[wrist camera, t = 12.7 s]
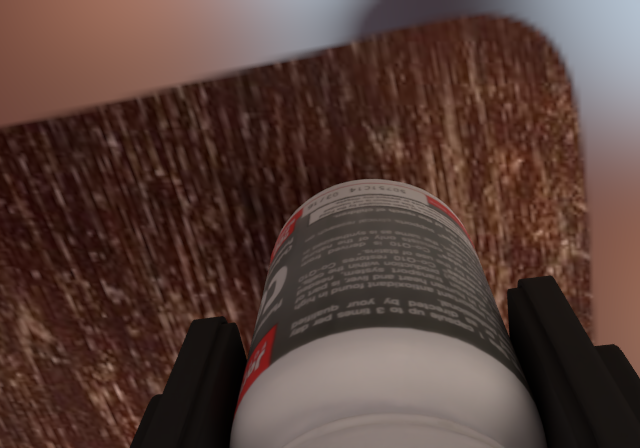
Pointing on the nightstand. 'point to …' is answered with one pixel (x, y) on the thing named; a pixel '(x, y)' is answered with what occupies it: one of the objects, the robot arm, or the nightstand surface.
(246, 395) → the pill bottle
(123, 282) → the nightstand surface
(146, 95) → the nightstand surface
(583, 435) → the robot arm
